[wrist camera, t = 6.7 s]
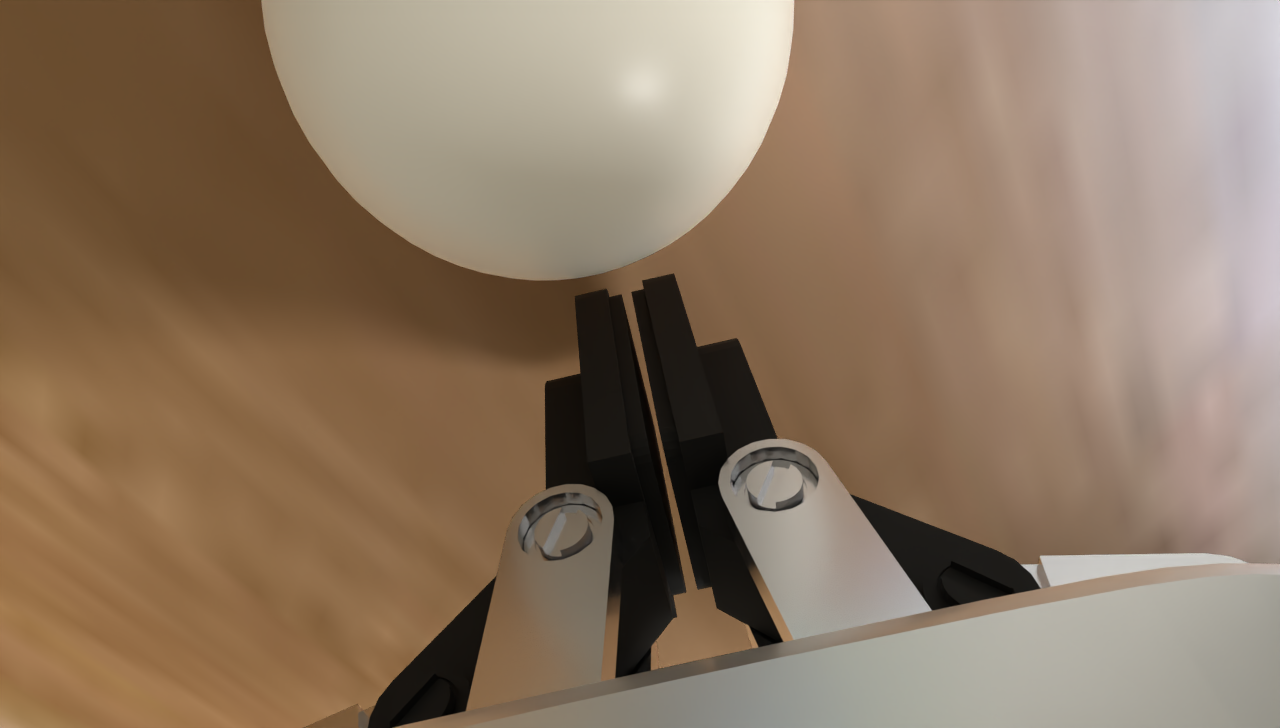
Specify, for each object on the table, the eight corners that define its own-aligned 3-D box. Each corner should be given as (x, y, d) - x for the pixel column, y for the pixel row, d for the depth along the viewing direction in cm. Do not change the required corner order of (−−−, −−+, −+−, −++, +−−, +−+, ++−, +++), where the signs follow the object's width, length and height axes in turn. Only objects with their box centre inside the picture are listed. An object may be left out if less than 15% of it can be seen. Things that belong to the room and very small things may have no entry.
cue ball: (862, 312, 8) (746, 70, 12) (894, -356, 4) (699, -420, 8) (398, 426, 9) (421, 157, 12) (-18, -81, 4) (204, -266, 8)
